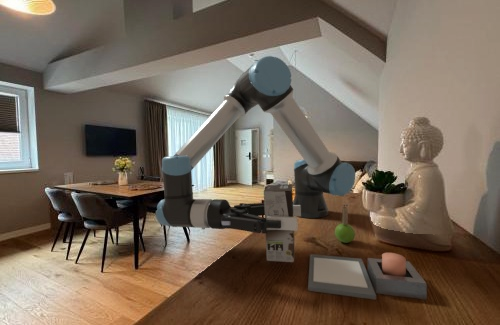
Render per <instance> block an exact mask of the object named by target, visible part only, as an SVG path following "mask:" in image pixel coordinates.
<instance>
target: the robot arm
mask: <svg viewBox="0 0 500 325" xmlns="http://www.w3.org/2000/svg"><path fill="white" fill-rule="evenodd" d="M291 84H292V72H291V70H290V68H289V66H288V64H286V62H284V60H282V59H281V58H279V57H276V56H271V55H269V56H268V55H267V56H264V57H261V58H260V59H258V60H256V61H254V63H253V64H251V66H250V67H249V68H247V69H246V70H245V71H244V72H243V73H242V74H241V75H240V76H238V79H236V82H234V84H233V86H232V87H231V88H230V89H229V90H228V92H227V93H226V94H225V95H224V96H223V102H222V103H221V104H220V105H219V106H218V107H217V108H216V109H215V110H214V111H213V112H212V113H211V115H210V116H209V117H208V118H207V119H206V120H205V121H204V122H203V123H202V124H201V125H200V127H198V129H197V130H196V131H195V132H194V133H193V134H192V135H191V136H190V137H189V138H188V140H187V141H185V143H184V144H183V145H182V146H181V147H179V149H178V150H177V151H176V152H175V154H174V155H171V156H164V157H163V158H162V159H161V168H160V177H161V179H162V184H163V191H164V199H161V200H160V201H159V202H158V203H157V206H156V209H157V210H155V218H156V220H157V222H158V223H159V224H160V225H162V226H167V227H172V228H195V229H196V228H197V229H201V230H205V229H212V230H215V229H216V230H224V229H225V230H226V229H230V230H231V229H232V230H238V231H244V232H248V233H256V234H261V233H262V234H265V235H266V233H267V229H274V230H294V232H295V231H298V229H299V228H298V217H299V218H305V219H316V218H323V217H326V216H328V215H329V208H328V207H329V206H328V204H327V201H326V198H325V196H324V194H329V195H332V196H338V197H339V196H340V197H341V196H346V195H348V193H349V192H351V191H352V189H353V187H354V185H355V182H356V171H355V168H354V167H353V165H352V164H351V163H348V162H342V161H341V159H340V157H339V156H338V155H337V153H336V152H333V151H329V149H328V148H327V147H326V146H327V145H326V144H324V142H323V140H322V139H321V137H320V135H319V134H318V133H317V131H316V130H315V129H314V127H313V125H312V124H311V122H310V121H309V120H308V119H309V118H307V117H306V115H305V113H304V112H303V110H302V109H301V107H300V106H299V105H298V103H297V102H296V100H295V99H294V97H293V96H294V95H293V94H294V88H293V86H292V85H291ZM256 106H259V107H260V109H261V110H262V112H264V113H269V114H270V115H271V116H272V117H273V119H274V120H275V121H276V122H277V124H278V125H279V127H280V128H281V129H282V131H283V133H284V134H285V135H286V137H287V138H288V139H289V140H290V143H291V144H292V145H293V146H294V147H295V149H296V150H297V151H298V153H299V154H300V156H301V158H303V159H300V160H296V161H295V162H294V165H293V174H294V175H293V176H294V198H293V215H294V217H279V216H267V220H266V218H265V210H264V202H256V203H255V202H253V203H252V202H251V203H245V202H244V203H243V202H240V203H239V204H235V205H234V206H231V205H230V202H229V201H228V200H227V199H221V198H220V199H218V198H217V199H211V198H194V192H193V176H192V171H193V170H194V168H195V167H196V166H197V165H198V163H200V161H201V160H202V159H203V158H204V157H205V156H206V155H207V154H208V152H209V151H210V150H212V148H213V147H214V146H215V145H216V143H217V142H218V141H219V140H220V139H221V138H222V137H223V135H225V134H226V132H227V131H228V130H229V129H230V128H231V127H232V125H234V123H235V122H236V121H237V120H238V119H239V118H240V117H244V116H245V115H246V114H247V113H248V112H249V111H250V110H251V109H252V108H254V107H256ZM262 216H264V217H262ZM266 228H267V229H266Z"/></svg>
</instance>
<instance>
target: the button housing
mask: <svg viewBox="0 0 500 325" xmlns="http://www.w3.org/2000/svg"><path fill="white" fill-rule="evenodd" d="M366 265H367V273H368V276H369V278H370V281H371V284H372V286H373V289H374V291H375V294H379V295H380V294H381V295H385V296H386V295H387V296H393V297H395V296H396V297H404V298H411V299H417V300H418V299H419V300H427V297H428V296H427V292H428V291H427V289H428V288H427V287H428V286H427V282H426V281H425V280H424V278H423V277H422V276H421V274H420V273H419V272H418V271H417V269H416V268H415V267H414V266H413V264H412V263H411V262H410V261H409V260H408V261H407V260H406V277H401V276H392V275H384V274H383V273H382V258H372V257H367V264H366Z"/></svg>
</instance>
